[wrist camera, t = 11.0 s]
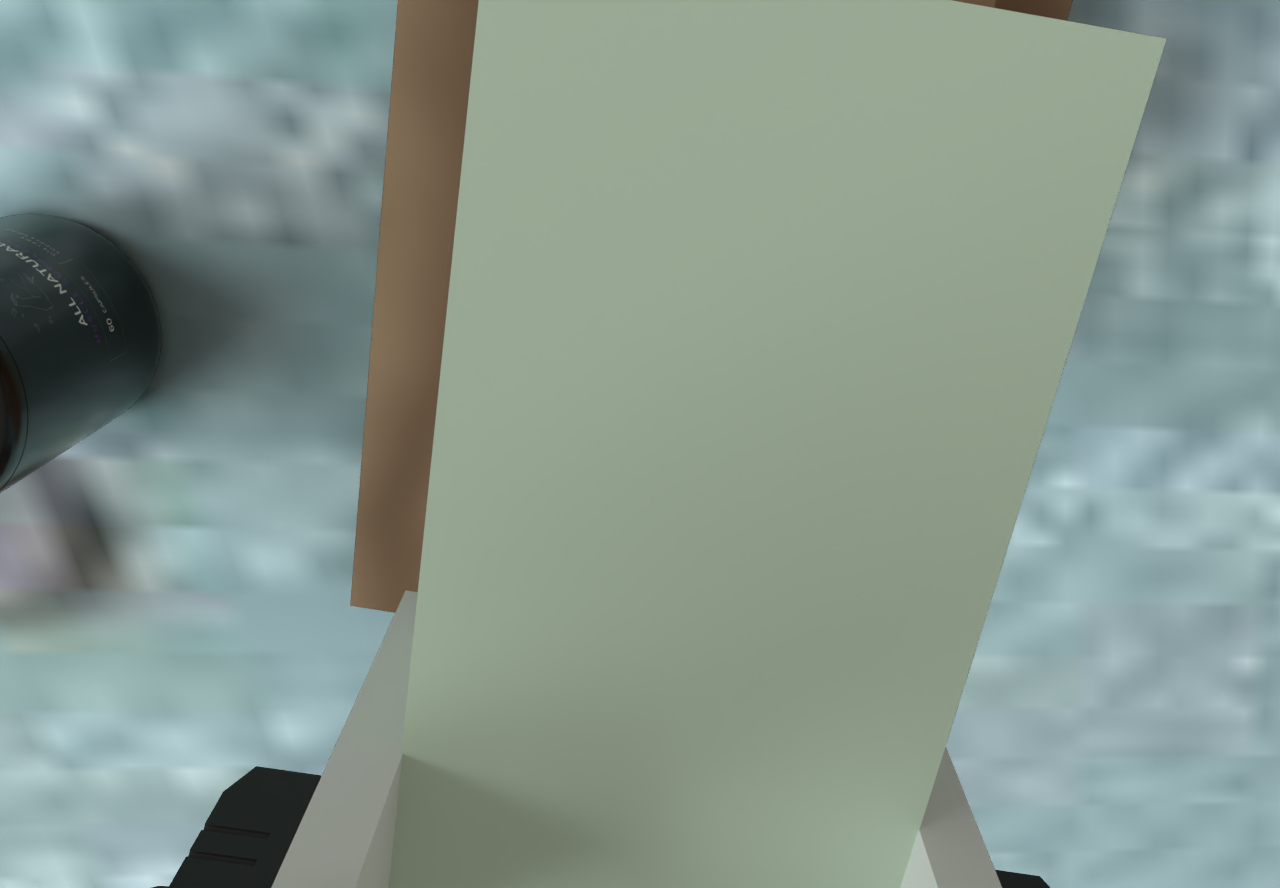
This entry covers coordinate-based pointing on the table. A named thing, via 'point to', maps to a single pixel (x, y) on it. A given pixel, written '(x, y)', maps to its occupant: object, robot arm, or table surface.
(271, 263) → the table surface
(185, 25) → the table surface
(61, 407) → the supplement bottle
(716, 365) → the bar
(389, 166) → the cradle
